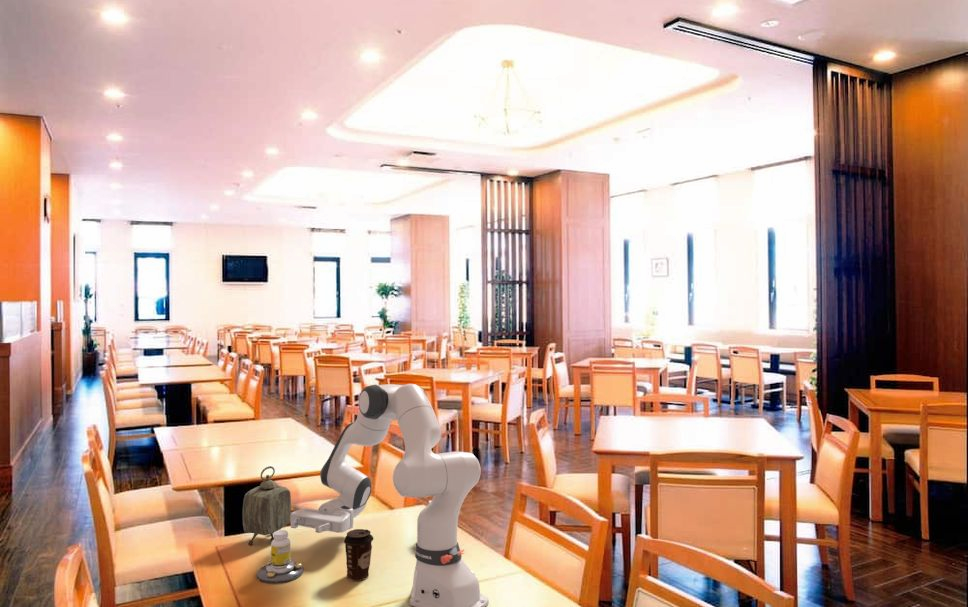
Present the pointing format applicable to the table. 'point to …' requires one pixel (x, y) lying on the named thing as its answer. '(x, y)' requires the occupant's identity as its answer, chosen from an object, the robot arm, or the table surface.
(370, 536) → the coffee cup
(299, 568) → the stand
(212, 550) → the table surface
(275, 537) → the supplement bottle
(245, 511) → the tabletop clock
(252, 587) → the table surface
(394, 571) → the table surface
